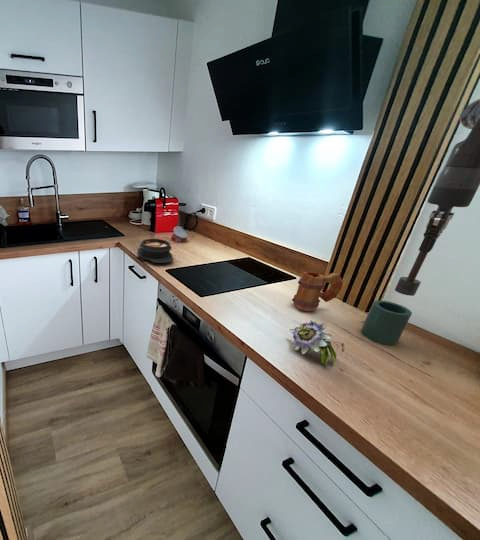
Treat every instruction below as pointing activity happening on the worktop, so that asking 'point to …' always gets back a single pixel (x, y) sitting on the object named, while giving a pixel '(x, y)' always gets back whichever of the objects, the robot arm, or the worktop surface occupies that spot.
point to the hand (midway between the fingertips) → (424, 250)
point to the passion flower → (314, 340)
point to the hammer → (411, 277)
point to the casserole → (155, 250)
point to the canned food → (179, 235)
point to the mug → (315, 290)
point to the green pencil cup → (385, 322)
